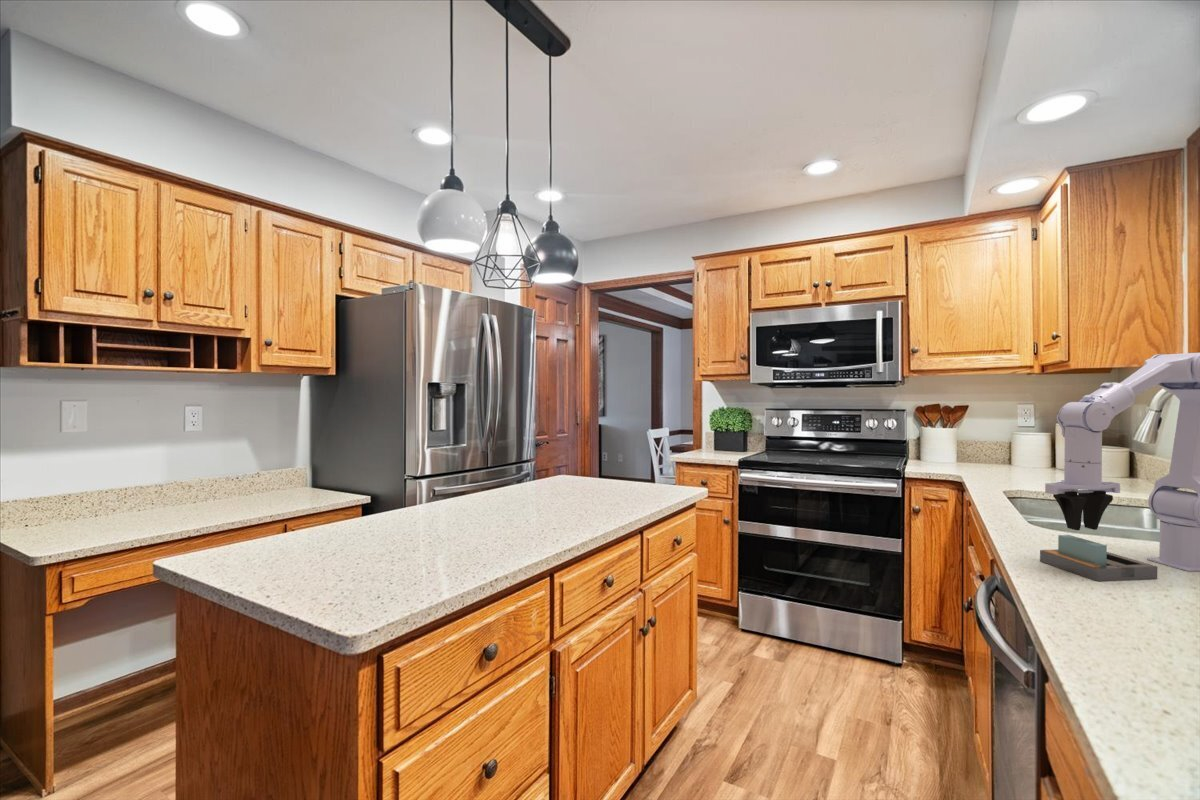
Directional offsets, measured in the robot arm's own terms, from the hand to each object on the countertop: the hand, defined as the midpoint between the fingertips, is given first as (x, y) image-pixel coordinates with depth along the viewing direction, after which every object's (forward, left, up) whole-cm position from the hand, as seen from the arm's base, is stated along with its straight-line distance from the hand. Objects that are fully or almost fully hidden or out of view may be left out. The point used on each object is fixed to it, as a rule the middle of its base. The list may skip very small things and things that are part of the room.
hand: (1082, 528), depth 114 cm
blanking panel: (0, 0, -8) cm, 8 cm away
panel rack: (-3, 0, -8) cm, 9 cm away
